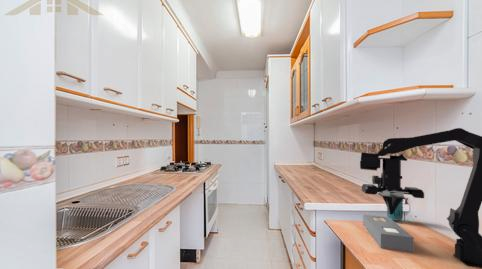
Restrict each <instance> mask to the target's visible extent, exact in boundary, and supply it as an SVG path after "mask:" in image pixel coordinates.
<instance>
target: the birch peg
mask: <svg viewBox="0 0 482 269" xmlns="http://www.w3.org/2000/svg"><path fill="white" fill-rule="evenodd" d="M373 219H374V220H375V221H384V222H387V221H386V220H384V219H383V218H374V217H373Z"/></svg>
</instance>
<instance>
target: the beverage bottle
mask: <svg viewBox="0 0 482 269" xmlns="http://www.w3.org/2000/svg"><path fill="white" fill-rule="evenodd" d="M388 191H389V190H388ZM390 194H392V193H390ZM390 196H391V195H390ZM403 201H404V199H403V200H402V201H401V202H400V203H399V205H398V206H397V208H396V210H395V211H394V213H393V214H389V211H388V208H387V207H386V217H389V218H390V219H392V220H394V221H395V220H397V221H402V220H403V218H404V216H403V215H404V202H403Z"/></svg>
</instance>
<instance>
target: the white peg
mask: <svg viewBox="0 0 482 269" xmlns="http://www.w3.org/2000/svg"><path fill="white" fill-rule="evenodd" d="M383 229H384V230H385V231H386V232H392V233H399V232H398V231H397V230H396V229H392V228H383Z"/></svg>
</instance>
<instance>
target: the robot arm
mask: <svg viewBox="0 0 482 269" xmlns="http://www.w3.org/2000/svg"><path fill="white" fill-rule="evenodd" d="M452 141H453V142H454V141H456V143H460V144H461V145H463V146H465V147H467V148H469V149H471V150H472V162H473V163H472V169H471V172H470V174H469V178H468V181H467V184H466V188H465V190H464V193H463V196H462V198H461V202H460V204H459V206H458V207H457V208H456V209H454V208H452V207H450V209H449V215H448V217H446V220H447V221H448V225H449V227H450V228H451V230H452V231H453V232H454V234H455V235H456V236H457V237H459V238H456V243H454V253H453V254H452V256H453V257H455V258H456V259H458V261H460V262H461V263H463V264H464V265H466V266H467V267H468V266H469V267H477V268H482V234H481V233H480V232H479V231H480V218H479V211H480V208H481V206H482V135H479V134H475V133H473V132H470V131H469V130H466V129H464V128H462V127H457V128H456V127H455V128H452V129H448V130H444V131H438V132H433V133H427V134H422V135H417V136H413V137H393V138H391V137H390V138H386V139H385V140H384V141H383V143H382V148H381V149H380V150H378V151H377V153H374V152H373V153H371V152H366V151H365V152H363V151H362V152H361V154H360V161H359V166H360V167H359V169H360V170H364V171H376V172H377V171H378V169H382V172H381V173H380V176H379V175H372V176H371V177H372V179H371V181H372V184H371V183H370V184H368V183H363V184H362V185H361V191H362V192H363V193H364V194H365V195H366V194H367V195H376V194H378V195H379V196H380V197H382V199H383V201H384V202H385V205H386V209H387V208H388V211H389V214H393V213H394V211H395V210H396V208H397V206H398V205H399V203H400V202H401V201H402V200H403V201H404V200H406V197H405V196H404V195H411V196H412V197H413V198H415V199H416V198H417V199H425V192H424V191H423V189H421V188H418V187H415V186H414V187H412V186H405V187H404V188H403V187H402V180H403V175H402V161H405V162H407V161H408V158H407V157H406V156H404V154H403V153H401V152H404V151H407V150H410V149H413V148H417V147H422V146H423V147H425V146H429V145H435V144H441V143H447V142H452ZM398 153H400V154H399V155H394V154H398ZM389 154H390V155H389ZM387 155H389V157H384V156H387ZM381 162H382V163H381ZM381 166H382V167H381ZM376 185H377V186H376ZM388 190H389V191H388ZM390 193H392V194H390ZM390 195H391V196H390Z"/></svg>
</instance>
